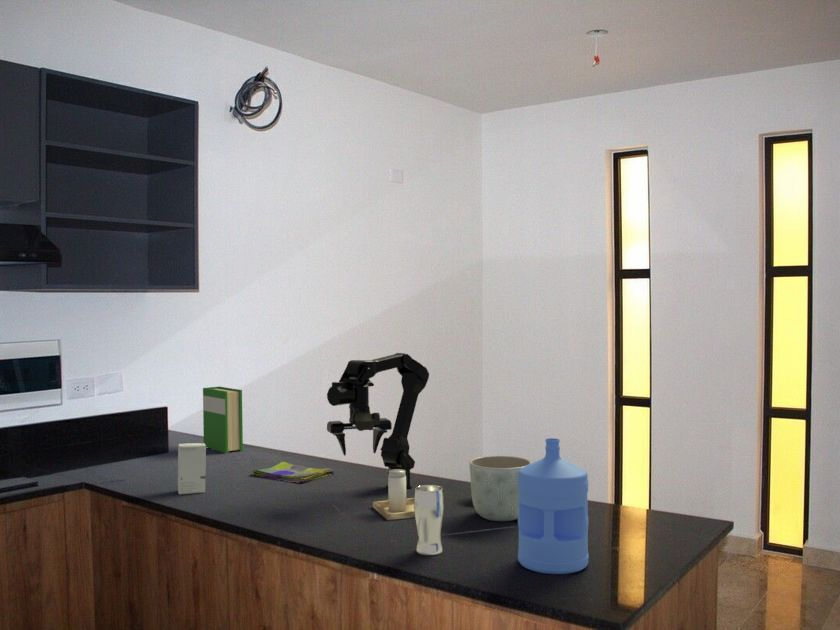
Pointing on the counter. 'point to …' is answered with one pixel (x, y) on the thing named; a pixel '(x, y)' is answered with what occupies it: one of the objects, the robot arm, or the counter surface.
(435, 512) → the beer glass
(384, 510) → the tray
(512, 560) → the counter surface
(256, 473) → the dish towel
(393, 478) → the ball
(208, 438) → the hardback book
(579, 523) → the water jug
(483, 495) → the planter
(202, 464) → the skincare box
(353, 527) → the counter surface
